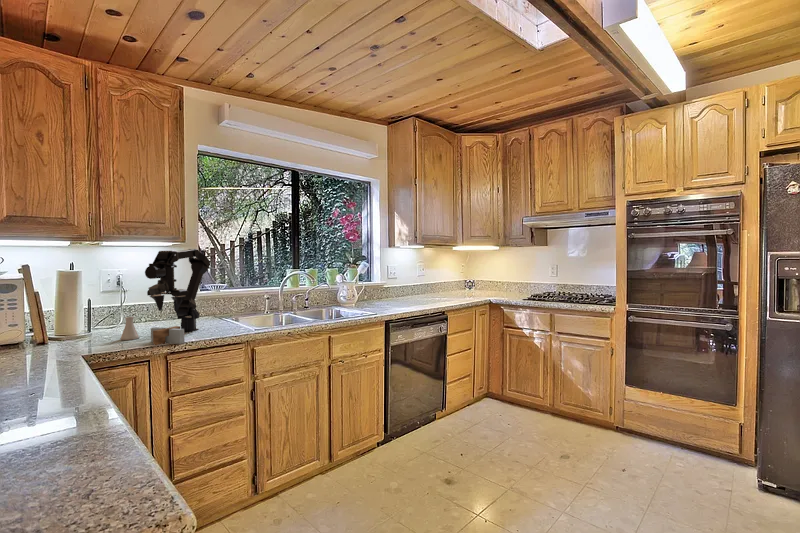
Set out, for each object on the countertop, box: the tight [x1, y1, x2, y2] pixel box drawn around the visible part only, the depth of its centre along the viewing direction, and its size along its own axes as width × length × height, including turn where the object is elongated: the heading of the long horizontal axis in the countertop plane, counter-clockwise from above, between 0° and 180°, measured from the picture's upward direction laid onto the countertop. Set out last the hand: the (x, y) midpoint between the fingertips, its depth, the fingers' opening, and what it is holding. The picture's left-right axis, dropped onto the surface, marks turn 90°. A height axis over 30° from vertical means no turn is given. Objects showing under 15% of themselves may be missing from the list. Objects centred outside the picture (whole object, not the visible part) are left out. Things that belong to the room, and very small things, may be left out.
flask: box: [120, 316, 140, 341], centre depth 189 cm, size 7×7×10 cm
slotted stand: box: [150, 326, 185, 345], centre depth 181 cm, size 2×16×6 cm, turn 73°
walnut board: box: [152, 325, 181, 346], centre depth 181 cm, size 12×2×6 cm, turn 163°
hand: (168, 310), depth 193 cm, fingers open, 9 cm apart
